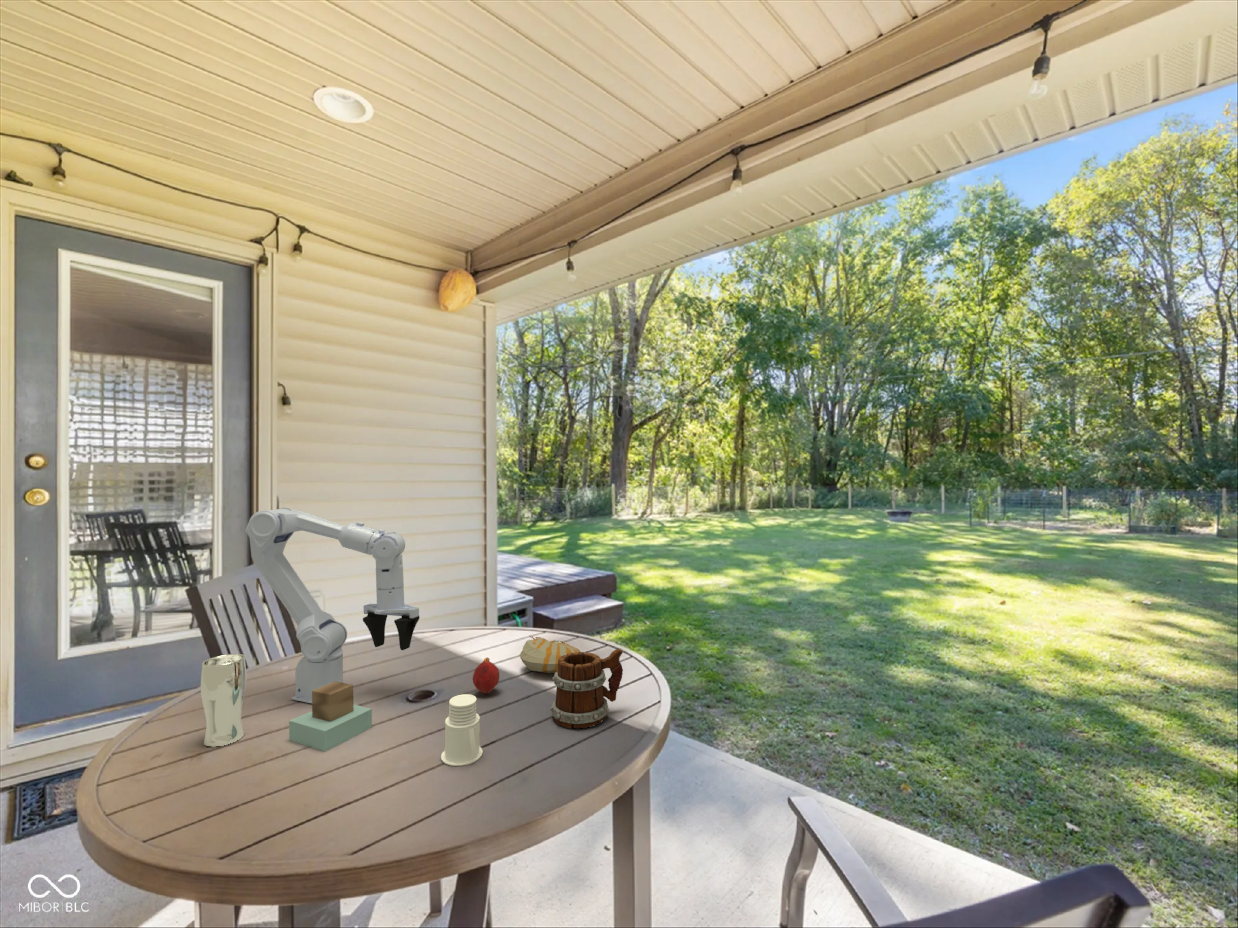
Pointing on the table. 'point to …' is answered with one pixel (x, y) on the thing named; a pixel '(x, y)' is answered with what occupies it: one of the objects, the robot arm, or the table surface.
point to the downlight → (462, 732)
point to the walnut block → (332, 701)
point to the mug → (584, 688)
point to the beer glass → (223, 698)
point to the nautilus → (544, 654)
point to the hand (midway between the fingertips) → (392, 647)
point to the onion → (486, 676)
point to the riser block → (329, 728)
